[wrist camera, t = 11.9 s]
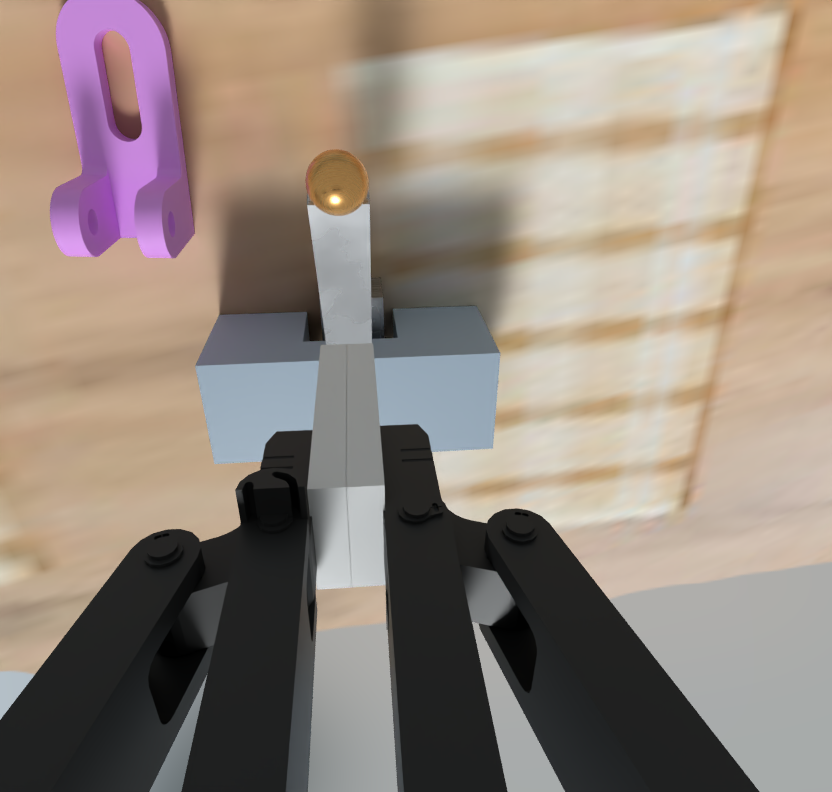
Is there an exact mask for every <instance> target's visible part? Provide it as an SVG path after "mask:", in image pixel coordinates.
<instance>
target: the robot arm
mask: <svg viewBox="0 0 832 792" xmlns="http://www.w3.org/2000/svg"><path fill="white" fill-rule="evenodd" d="M235 491H236V497H237V503H238V508H239V514H240V520H241V525H240V526H239V527H238V528H237V529H235V530H233V531H231V532H229V533H227V534H225V535H222V536H219V537H216V538H213V539H209V540H206V541H202V542H200V541H199V538H198V537H196V536H195V535H194V534H193V533H192V532H189V531H185V530H182V529H171V530H164V531H160V532H157V533H153V534H151V535H150V536H148V537H146V538H144V539H142V540H140V541H139V542H138V543H137V544H136V545H135V546H134V547H133V548H132V549H131V550H130V551H129V553H128V554H127V555H126V557H125V558H124V559H123V561H122V562H121V563H120V564H119V566H118V567H117V568H116V570H115V571H114V572H113V574H112V575H111V576H110V578H109V579H108V580H107V581H106V583H105V584H104V585H103V587H102V588H101V589H100V591H99V592H98V593H97V595H96V596H95V597H94V598H93V600H92V601H91V602H90V604H89V605H88V606H87V608H86V609H85V610H84V611H83V613H82V614H81V615H80V617H79V618H78V619H77V621H76V622H75V623H74V625H73V626H72V627H71V628H70V630H69V631H68V632H67V634H66V635H65V636H64V638H63V639H62V640H61V641H60V643H59V644H58V645H57V647H56V648H55V649H54V651H53V652H52V653H51V655H50V656H49V657H48V658H47V660H46V661H45V662H44V664H43V665H42V666H41V668H40V669H39V670H38V671H37V673H36V674H35V675H34V677H33V678H32V679H31V681H30V682H29V683H28V685H27V686H26V687H25V689H24V690H23V691H22V692H21V694H20V695H19V696H18V698H17V699H16V700H15V702H14V703H13V704H12V705H11V707H10V708H9V710H8V711H7V712H6V713H5V715H4V716H3V717H2V719H1V720H0V792H149V791H150V789H151V787H152V785H153V783H154V781H155V779H156V777H157V775H158V773H159V771H160V769H161V767H162V765H163V763H164V761H165V758H166V756H167V754H168V752H169V750H170V748H171V746H172V744H173V742H174V740H175V738H176V736H177V734H178V732H179V730H180V728H181V726H182V724H183V722H184V720H185V718H186V716H187V714H188V712H189V710H190V708H191V706H192V704H193V702H194V699H195V698H196V696H197V694H198V692H199V690H200V688H201V686H202V683H203V681H204V679H205V677H206V675H207V679H206V683H205V688H204V692H203V697H202V701H201V706H200V711H199V716H198V720H197V724H196V729H195V733H194V738H193V742H192V747H191V751H190V756H189V760H188V765H187V769H186V774H185V779H184V784H183V787H182V792H308V775H309V756H310V736H311V718H312V699H313V680H314V659H315V641H316V623H317V603H316V593H315V592H316V584H317V590H318V589H333V588H349V587H364V586H379V585H386V624H387V630H388V643H389V658H390V675H391V690H392V706H393V722H394V738H395V753H396V768H397V769H396V770H397V786H398V792H507V787H506V783H505V778H504V773H503V768H502V763H501V759H500V754H499V749H498V744H497V740H496V736H495V730H494V725H493V721H492V716H491V711H490V706H489V702H488V697H487V692H486V687H485V682H484V678H483V673H482V668H481V663H480V658H479V654H478V649H477V644H476V639H475V635H474V630H473V625H472V622H475V623H479V626H480V630H481V632H482V634H483V636H484V638H485V640H486V641H487V643H488V645H489V647H490V649H491V651H492V653H493V655H494V657H495V658H496V660H497V662H498V664H499V666H500V668H501V670H502V672H503V674H504V676H505V678H506V680H507V681H508V683H509V685H510V687H511V689H512V691H513V693H514V695H515V697H516V699H517V701H518V702H519V704H520V706H521V708H522V710H523V712H524V714H525V716H526V718H527V720H528V722H529V723H530V725H531V727H532V729H533V731H534V733H535V735H536V737H537V739H538V741H539V743H540V744H541V746H542V748H543V750H544V752H545V754H546V756H547V758H548V760H549V762H550V764H551V765H552V767H553V769H554V771H555V773H556V775H557V777H558V779H559V781H560V782H561V785H562V786H563V788H564V790H565V792H759V791H758V789H757V788H756V787H755V786H754V784H753V783H752V782H751V780H750V779H749V778H748V777H747V775H746V774H745V773H744V771H743V770H742V769H741V768H740V766H739V765H738V764H737V763H736V761H735V760H734V759H733V757H732V756H731V755H730V754H729V752H728V751H727V750H726V749H725V747H724V746H723V745H722V743H721V742H720V741H719V739H718V738H717V737H716V736H715V735H714V733H713V732H712V731H711V729H710V728H709V727H708V726H707V724H706V723H705V722H704V720H703V719H702V718H701V716H699V714H698V713H697V711H696V710H695V709H694V708H693V706H692V705H691V704H690V702H689V701H688V700H687V699H686V697H685V696H684V695H683V694H682V692H681V691H680V690H679V688H678V687H677V686H676V685H675V683H674V682H673V681H672V679H671V678H670V677H669V676H668V675H667V673H666V672H665V671H664V669H663V668H662V667H661V666H660V664H659V663H658V662H657V660H656V659H655V658H654V657H653V655H652V654H651V653H650V651H649V650H648V649H647V648H646V646H645V645H644V644H643V642H642V641H641V640H640V639H639V637H638V636H637V635H636V634H635V633H634V631H633V630H632V629H631V627H630V626H629V625H628V623H627V622H626V621H625V619H624V618H623V617H622V616H621V614H620V613H619V612H618V610H617V609H616V608H615V607H614V605H613V604H612V603H611V602H610V600H609V599H608V598H607V596H606V595H605V594H604V593H603V591H602V590H601V589H600V587H599V586H598V585H597V584H596V582H595V581H594V580H593V579H592V577H591V576H590V575H589V573H588V572H587V571H586V570H585V568H584V567H583V566H582V564H581V563H580V562H579V561H578V559H577V558H576V557H575V556H574V554H573V553H572V552H571V550H570V549H569V548H568V547H567V545H566V544H565V543H564V542H563V540H562V539H561V538H560V536H559V535H558V534H557V533H556V531H555V530H554V529H553V527H552V526H551V525H550V524H549V523H548V522H547V521H546V520H545V519H544V518H543V517H542V516H540V515H538V514H536V513H533V512H531V511H528V510H523V509H505V510H502V511H500V512H497V513H495V514H494V515H493V516H492V517H491V518H490V519H489V520H488V523H482V522H476V521H471V520H468V519H464V518H461V517H459V516H457V515H455V514H454V513H452V512H451V511H450V510H448V509H447V507H446V505H445V503H444V502H443V501H442V499H441V495H440V490H439V485H438V480H437V476H436V471H435V466H434V461H433V456H432V451H431V446H430V441H429V436H428V434H427V433H426V432H425V431H424V430H423V429H422V428H421V427H420V426H419V425H418V424H407V425H383V426H380V422H379V410H378V397H377V385H376V373H375V360H374V348H373V343H367V344H334V345H321V346H320V357H319V367H318V378H317V389H316V399H315V410H314V421H313V430H299V431H276V433H275V434H274V435H273V436H272V437H271V438H270V439H269V440H268V441H267V443H266V444H265V449H264V454H263V460H262V463H261V470H259V471H257V472H254V473H252V474H250V475H248V476H247V477H245V478H244V479H243V480H242V481H240V483H239V484H238V486H237V488H236V490H235ZM207 673H208V674H207Z"/></svg>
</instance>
